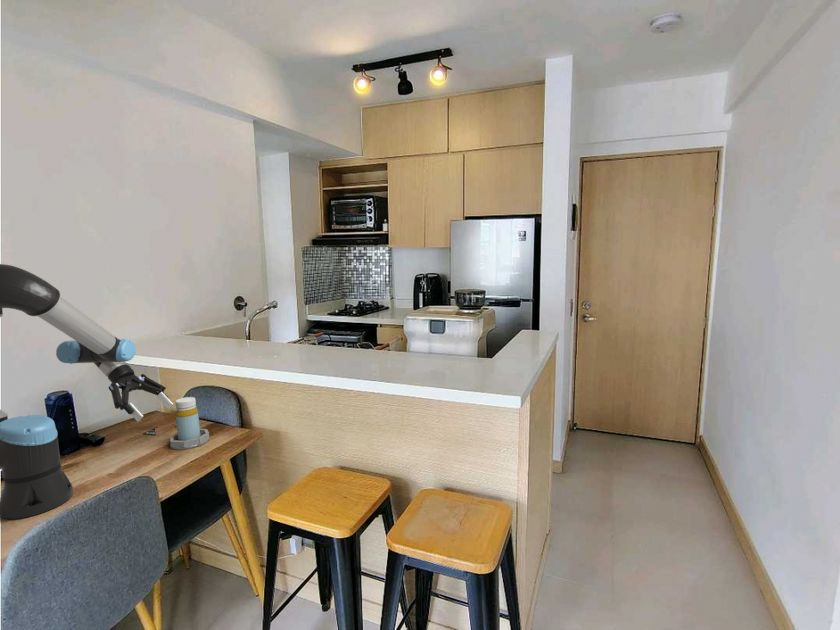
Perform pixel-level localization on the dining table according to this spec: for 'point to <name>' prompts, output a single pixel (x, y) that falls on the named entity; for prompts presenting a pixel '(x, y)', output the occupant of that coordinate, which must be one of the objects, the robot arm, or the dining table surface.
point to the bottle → (187, 419)
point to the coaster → (189, 441)
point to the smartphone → (150, 432)
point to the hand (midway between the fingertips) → (156, 412)
